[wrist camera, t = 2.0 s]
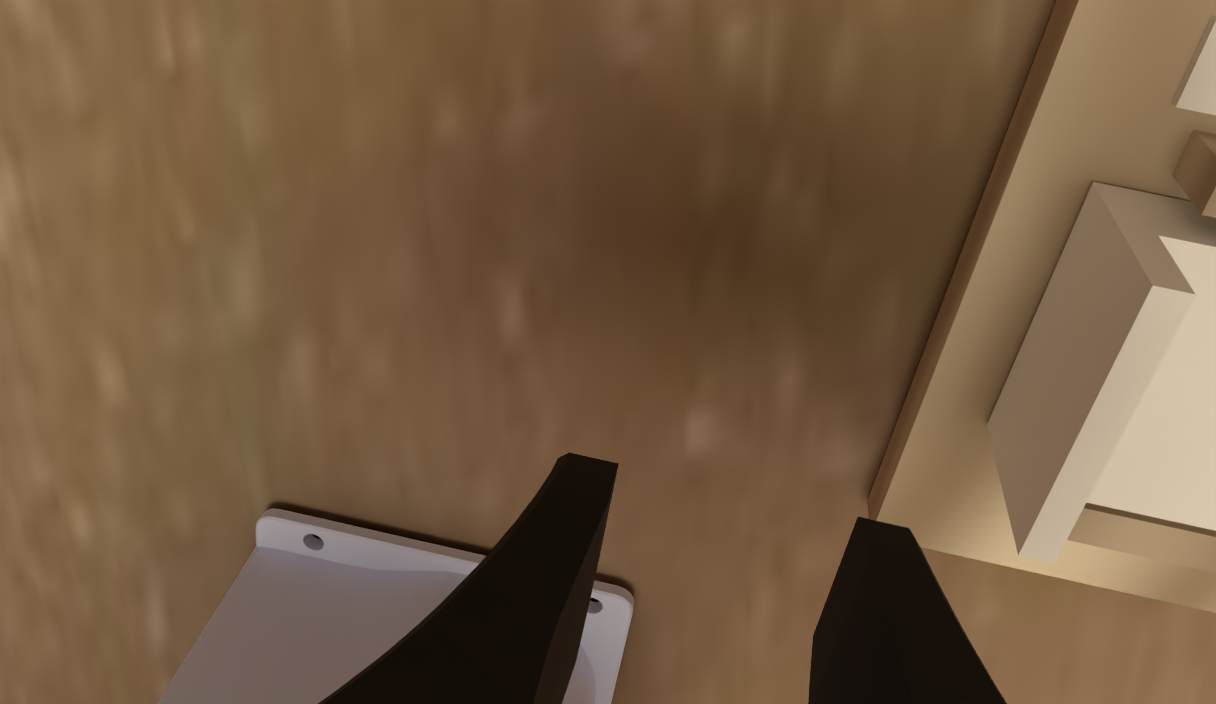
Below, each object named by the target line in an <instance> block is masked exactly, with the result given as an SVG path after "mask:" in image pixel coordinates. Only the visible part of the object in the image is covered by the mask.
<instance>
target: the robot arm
mask: <svg viewBox="0 0 1216 704" xmlns="http://www.w3.org/2000/svg"><path fill="white" fill-rule="evenodd" d="M617 468H618V463H613V462H609V461H604V460H600V459H595V458H591V457H586V456H582V455H577V454H573V453H567V454H565V455H563V456H561V457H560V458H558V460H557V462H556V464H555V465H554V467H553V469H552V471H551V473H550V474H549V476H548V477H547V479H546V481H545V482H544V484H543V485H542V487H541V488H540V490H539V491H538V493H537V494H536V495H535V497H534V498H533V499H532V501H531V502H530V503H529V505H528V506H527V507H526V509H525V510H524V511H523V513H522V514H521V515H520V517H519V518H518V519H517V520H516V522H515V523H514V524H513V525H512V526H511V528H510V529H509V530H508V531H507V532H506V533H505V535H504V536H503V537H502V538H501V539H500V540H499V542H498V543H497V544H496V545H495V546H494V548H493V549H492V550H491V551H490V552H489V553H488V555H487V556H485V555H480V554H476V553H472V552H467V551H463V550H458V549H454V548H450V547H445V546H441V545H436V544H432V543H428V542H423V541H419V540H414V539H410V538H405V537H401V536H397V535H392V534H388V533H383V532H379V531H375V530H370V529H366V528H361V527H357V526H353V525H348V524H344V523H339V522H335V521H331V520H326V519H322V518H317V517H313V516H309V515H304V514H300V513H295V512H291V511H286V510H282V509H273V508H272V509H269V510H266V511H265V512H264V513H263V514H262V515H261V517H260V518H259V520H258V521H257V524H256V547H255V549H254V550H253V552H252V553H251V555H250V557H249V558H248V560H247V561H246V563H245V565H244V566H243V568H242V569H241V571H240V572H239V574H238V576H237V577H236V579H235V580H234V582H233V583H232V585H231V587H230V588H229V590H228V591H227V593H226V595H225V596H224V598H223V599H222V601H221V602H220V604H219V606H218V607H217V609H216V610H215V612H214V614H213V615H212V617H211V618H210V620H209V621H208V623H207V625H206V626H205V628H204V629H203V631H202V632H201V634H200V636H199V637H198V639H197V640H196V642H195V644H194V645H193V647H192V648H191V650H190V651H189V653H188V655H187V656H186V658H185V659H184V661H183V662H182V664H181V666H180V667H179V669H178V670H177V672H176V674H175V675H174V677H173V678H172V680H171V681H170V683H169V685H168V686H167V688H166V689H165V691H164V693H163V694H162V696H161V697H160V699H159V700H158V702H157V704H611V702H612V697H613V693H614V689H615V685H616V681H617V676H618V672H619V668H620V664H621V660H622V655H623V651H624V647H625V643H626V639H627V634H628V630H629V626H630V622H631V618H632V614H633V608H634V598H633V596H632V594H631V593H630V592H629V591H627V590H626V589H625V588H622V587H620V586H617V585H613V584H608V583H604V582H599V581H595V575H596V570H597V566H598V561H599V556H600V551H601V546H602V541H603V536H604V532H605V527H606V522H607V517H608V512H609V507H610V502H611V498H612V493H613V488H614V483H615V478H616V473H617ZM312 534H314V535H316V536H319V537H320V538H321V539H322V540H321V539H317V538H315V537H314V536H313V535H312ZM590 598H595V599H597V600H599V601H600V602H592V601H590ZM808 704H1007V703H1006V702H1005V700H1004V698H1003V697H1002V695H1001V693H1000V692H999V690H998V689H997V687H996V685H995V684H994V682H993V680H992V679H991V677H990V675H989V673H988V672H987V670H986V668H985V667H984V665H983V663H982V661H981V660H980V658H979V656H978V655H977V653H976V651H975V649H974V648H973V646H972V644H971V643H970V641H969V639H968V637H967V636H966V634H965V632H964V630H963V628H962V627H961V625H960V623H959V621H958V619H957V617H956V616H955V614H954V612H953V610H952V608H951V606H950V604H949V602H948V600H947V599H946V597H945V595H944V593H943V591H942V589H941V587H940V585H939V583H938V581H937V579H936V578H935V576H934V574H933V572H932V570H931V568H930V566H929V564H928V562H927V560H926V558H925V556H924V554H923V552H922V550H921V548H920V546H919V544H918V542H917V540H916V538H915V537H914V535H913V533H912V532H911V530H910V528H907V527H902V526H898V525H893V524H889V523H884V522H880V521H875V520H871V519H866V518H862V517H858V518H857V521H856V523H855V526H854V529H853V531H852V534H851V536H850V539H849V542H848V544H847V547H846V550H845V552H844V555H843V558H842V560H841V563H840V566H839V568H838V571H837V574H836V576H835V579H834V582H833V584H832V587H831V590H830V592H829V595H828V598H827V600H826V603H825V606H824V608H823V611H822V614H821V616H820V619H819V622H818V624H817V627H816V630H815V632H814V635H813V645H812V658H811V671H810V686H809V703H808Z"/></svg>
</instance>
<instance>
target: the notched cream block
mask: <svg viewBox="0 0 1216 704" xmlns="http://www.w3.org/2000/svg"><path fill="white" fill-rule="evenodd" d="M987 429H988V433H989V437H990V442H991V446H992V450H993V454H994V458H995V462H996V466H997V470H998V474H999V479H1000V483H1001V487H1002V491H1003V495H1004V499H1005V503H1006V507H1007V511H1008V516H1009V520H1010V524H1011V528H1012V532H1013V536H1014V540H1015V544H1016V548H1017V552H1018V556H1022V557H1027V558H1031V559H1036V560H1040V561H1045V562H1049V563H1055V561H1056V560H1057V558H1058V556H1059V554H1060V552H1061V550H1062V548H1063V546H1064V544H1065V542H1066V541H1067V539H1068V537H1069V535H1070V533H1071V531H1072V529H1073V527H1074V525H1075V523H1076V522H1077V520H1078V518H1079V516H1080V514H1081V512H1082V510H1083V508H1084V506H1085V504H1086V503H1091V504H1096V505H1100V506H1105V507H1109V508H1114V509H1119V510H1123V511H1128V512H1132V513H1137V514H1141V515H1146V516H1151V517H1155V518H1160V519H1164V520H1169V521H1173V522H1178V523H1183V524H1187V525H1192V526H1196V527H1201V528H1205V529H1210V530H1215V531H1216V218H1214V217H1209V216H1204V215H1201V213H1200V212H1199V211H1198V209H1197V208H1196V207H1195V205H1194V204H1193V203H1192V202H1190V201H1185V200H1180V199H1175V198H1170V197H1166V196H1161V195H1156V194H1151V193H1146V192H1141V191H1136V190H1131V189H1126V188H1122V187H1117V186H1112V185H1107V184H1102V183H1097V182H1093V183H1092V185H1091V188H1090V190H1089V192H1088V194H1087V197H1086V199H1085V201H1084V204H1083V206H1082V208H1081V211H1080V213H1079V215H1078V217H1077V220H1076V222H1075V224H1074V227H1073V229H1072V231H1071V233H1070V236H1069V238H1068V240H1067V243H1066V245H1065V247H1064V250H1063V252H1062V254H1061V256H1060V259H1059V261H1058V263H1057V266H1056V268H1055V270H1054V272H1053V275H1052V277H1051V279H1050V282H1049V284H1048V286H1047V288H1046V291H1045V293H1044V295H1043V298H1042V300H1041V302H1040V305H1039V307H1038V309H1037V311H1036V314H1035V316H1034V318H1033V321H1032V323H1031V325H1030V327H1029V330H1028V332H1027V334H1026V337H1025V339H1024V341H1023V344H1022V346H1021V348H1020V350H1019V353H1018V355H1017V357H1016V360H1015V362H1014V364H1013V366H1012V369H1011V371H1010V373H1009V376H1008V378H1007V380H1006V382H1005V385H1004V387H1003V389H1002V392H1001V394H1000V396H999V399H998V401H997V403H996V405H995V408H994V410H993V412H992V415H991V417H990V419H989V421H988V424H987Z"/></svg>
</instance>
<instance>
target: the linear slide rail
mask: <svg viewBox="0 0 1216 704" xmlns="http://www.w3.org/2000/svg"><path fill="white" fill-rule="evenodd" d="M1093 182H1097V183H1102V184H1107V185H1112V186H1117V187H1122V188H1126V189H1131V190H1136V191H1141V192H1146V193H1151V194H1156V195H1161V196H1166V197H1170V198H1175V199H1180V200H1185V201H1190V202H1192V203H1193V204H1194V205H1195V207H1196V208H1197V209H1198V211H1199V212H1200V213H1201V215H1204V216H1209V217H1214V218H1216V0H1056V3H1055V5H1054V8H1053V11H1052V13H1051V16H1050V19H1049V21H1048V24H1047V27H1046V29H1045V32H1044V34H1043V37H1042V40H1041V42H1040V45H1039V48H1038V50H1037V53H1036V56H1035V58H1034V61H1033V64H1032V66H1031V69H1030V71H1029V74H1028V77H1027V79H1026V82H1025V85H1024V87H1023V90H1022V93H1021V95H1020V98H1019V101H1018V103H1017V106H1016V109H1015V111H1014V114H1013V116H1012V119H1011V122H1010V124H1009V127H1008V130H1007V132H1006V135H1005V138H1004V140H1003V143H1002V146H1001V148H1000V151H999V154H998V156H997V159H996V161H995V164H994V167H993V169H992V172H991V175H990V177H989V180H988V183H987V185H986V188H985V191H984V193H983V196H982V198H981V201H980V204H979V206H978V209H977V212H976V214H975V217H974V220H973V222H972V225H971V228H970V230H969V233H968V236H967V238H966V241H965V243H964V246H963V249H962V251H961V254H960V257H959V259H958V262H957V265H956V267H955V270H954V273H953V275H952V278H951V280H950V283H949V286H948V288H947V291H946V294H945V296H944V299H943V302H942V304H941V307H940V310H939V312H938V315H937V318H936V320H935V323H934V325H933V328H932V331H931V333H930V336H929V339H928V341H927V344H926V347H925V349H924V352H923V355H922V357H921V360H920V362H919V365H918V368H917V370H916V373H915V376H914V378H913V381H912V384H911V386H910V389H909V392H908V394H907V397H906V400H905V402H904V405H903V407H902V410H901V413H900V415H899V418H898V421H897V423H896V426H895V429H894V431H893V434H892V437H891V439H890V442H889V445H888V447H887V450H886V452H885V455H884V458H883V460H882V463H881V466H880V468H879V471H878V474H877V476H876V479H875V482H874V484H873V487H872V489H871V492H870V495H869V497H868V512H869V519H871V520H875V521H880V522H884V523H889V524H893V525H898V526H902V527H907V528H910V530H911V532H912V533H913V535H914V537H915V538H916V540H917V542H918V544H919V546H920V547H922V548H927V549H931V550H936V551H940V552H945V553H949V554H954V555H958V556H963V557H967V558H972V559H976V560H981V561H985V562H990V563H994V564H999V565H1003V566H1008V567H1012V568H1017V569H1021V570H1026V571H1030V572H1035V573H1039V574H1044V575H1048V576H1053V577H1057V578H1062V579H1066V580H1071V581H1075V582H1080V583H1084V584H1089V585H1093V586H1098V587H1102V588H1107V589H1111V590H1116V591H1120V592H1125V593H1129V594H1134V595H1138V596H1143V597H1147V598H1152V599H1156V600H1161V601H1165V602H1170V603H1174V604H1179V605H1183V606H1188V607H1192V608H1197V609H1201V610H1206V611H1210V612H1215V613H1216V531H1215V530H1210V529H1205V528H1201V527H1196V526H1192V525H1187V524H1183V523H1178V522H1173V521H1169V520H1164V519H1160V518H1155V517H1151V516H1146V515H1141V514H1137V513H1132V512H1128V511H1123V510H1119V509H1114V508H1109V507H1105V506H1100V505H1096V504H1091V503H1086V504H1085V506H1084V508H1083V510H1082V512H1081V514H1080V516H1079V518H1078V520H1077V522H1076V523H1075V525H1074V527H1073V529H1072V531H1071V533H1070V535H1069V537H1068V539H1067V541H1066V542H1065V544H1064V546H1063V548H1062V550H1061V552H1060V554H1059V556H1058V558H1057V560H1056V561H1055V563H1049V562H1045V561H1040V560H1036V559H1031V558H1027V557H1022V556H1018V552H1017V548H1016V544H1015V540H1014V536H1013V532H1012V528H1011V524H1010V520H1009V516H1008V511H1007V507H1006V503H1005V499H1004V495H1003V491H1002V487H1001V483H1000V479H999V474H998V470H997V466H996V462H995V458H994V454H993V450H992V446H991V442H990V437H989V433H988V429H987V424H988V421H989V419H990V417H991V415H992V412H993V410H994V408H995V405H996V403H997V401H998V399H999V396H1000V394H1001V392H1002V389H1003V387H1004V385H1005V382H1006V380H1007V378H1008V376H1009V373H1010V371H1011V369H1012V366H1013V364H1014V362H1015V360H1016V357H1017V355H1018V353H1019V350H1020V348H1021V346H1022V344H1023V341H1024V339H1025V337H1026V334H1027V332H1028V330H1029V327H1030V325H1031V323H1032V321H1033V318H1034V316H1035V314H1036V311H1037V309H1038V307H1039V305H1040V302H1041V300H1042V298H1043V295H1044V293H1045V291H1046V288H1047V286H1048V284H1049V282H1050V279H1051V277H1052V275H1053V272H1054V270H1055V268H1056V266H1057V263H1058V261H1059V259H1060V256H1061V254H1062V252H1063V250H1064V247H1065V245H1066V243H1067V240H1068V238H1069V236H1070V233H1071V231H1072V229H1073V227H1074V224H1075V222H1076V220H1077V217H1078V215H1079V213H1080V211H1081V208H1082V206H1083V204H1084V201H1085V199H1086V197H1087V194H1088V192H1089V190H1090V188H1091V185H1092V183H1093Z"/></svg>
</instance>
